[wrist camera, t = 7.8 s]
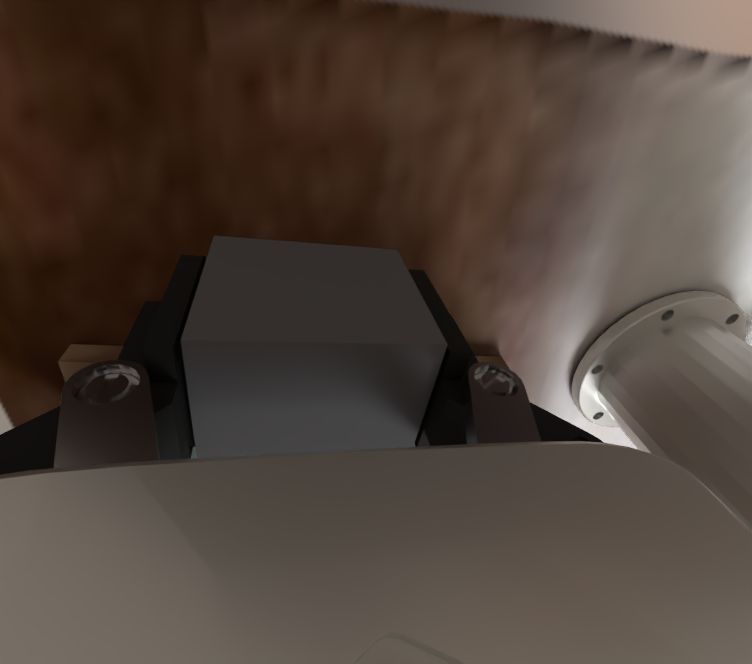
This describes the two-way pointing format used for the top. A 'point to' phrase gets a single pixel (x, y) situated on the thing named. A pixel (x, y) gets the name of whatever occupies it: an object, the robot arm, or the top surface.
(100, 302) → the top surface
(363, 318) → the block
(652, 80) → the top surface
